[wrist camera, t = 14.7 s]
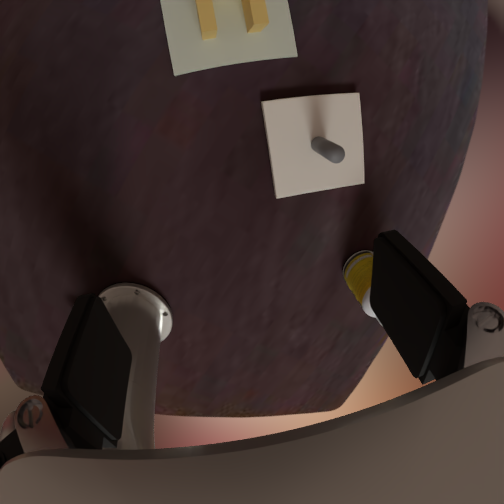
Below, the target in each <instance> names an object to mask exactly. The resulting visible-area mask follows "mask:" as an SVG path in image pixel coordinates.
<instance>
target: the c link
mask: <svg viewBox="0 0 504 504" xmlns="http://www.w3.org/2000/svg"><path fill="white" fill-rule="evenodd" d="M195 2H196V8H197V13H198V19H199V24H200V30H201V35H202V40H206V39H212V38H216V35H217V30H218V29H217V24H216V18H215V13H214V8H213V2H212V0H195ZM241 2H242V7H243V12H244V17H245V23H246V28H247V33H253V32H261V31H262V30H263V29H264V28H265V27H266V26H267V25H268V24H269V19H268V13H267V8H266V3H265V0H241Z"/></svg>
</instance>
